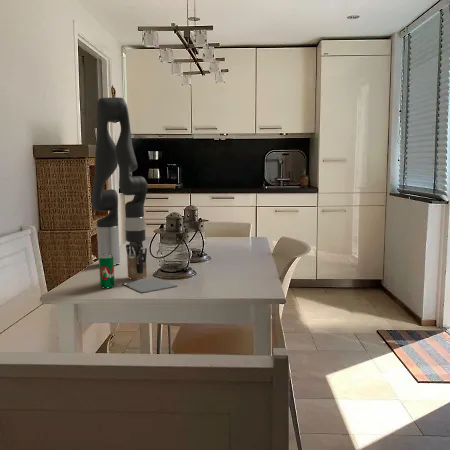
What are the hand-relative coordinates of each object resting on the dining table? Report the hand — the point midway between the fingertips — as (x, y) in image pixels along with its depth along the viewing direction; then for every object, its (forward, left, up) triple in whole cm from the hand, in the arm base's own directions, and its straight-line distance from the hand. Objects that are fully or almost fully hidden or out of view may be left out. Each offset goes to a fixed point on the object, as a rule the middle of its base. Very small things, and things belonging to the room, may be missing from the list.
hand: (137, 272), depth 186 cm
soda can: (+6, -15, -3) cm, 16 cm away
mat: (+14, -2, -2) cm, 14 cm away
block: (0, 0, -2) cm, 2 cm away
